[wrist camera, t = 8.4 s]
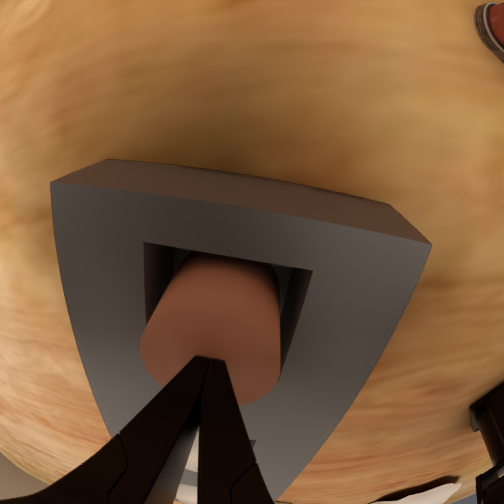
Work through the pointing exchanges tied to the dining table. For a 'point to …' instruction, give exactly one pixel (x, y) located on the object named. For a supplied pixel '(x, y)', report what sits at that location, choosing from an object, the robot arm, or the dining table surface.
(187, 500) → the button
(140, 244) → the button panel
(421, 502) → the figurine
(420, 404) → the dining table surface
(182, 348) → the terracotta button
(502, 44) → the lighter
